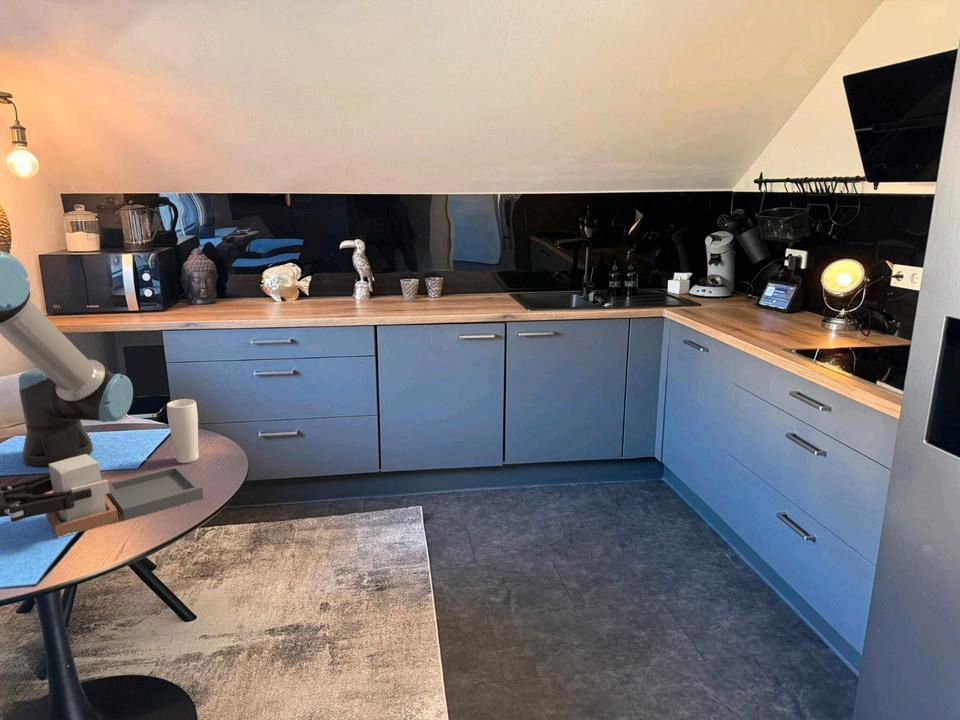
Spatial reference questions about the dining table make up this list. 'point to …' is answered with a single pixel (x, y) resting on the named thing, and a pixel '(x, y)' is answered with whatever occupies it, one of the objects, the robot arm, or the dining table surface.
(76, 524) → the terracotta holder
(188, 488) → the charcoal tray
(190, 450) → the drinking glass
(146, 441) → the dining table surface
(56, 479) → the supplement box
